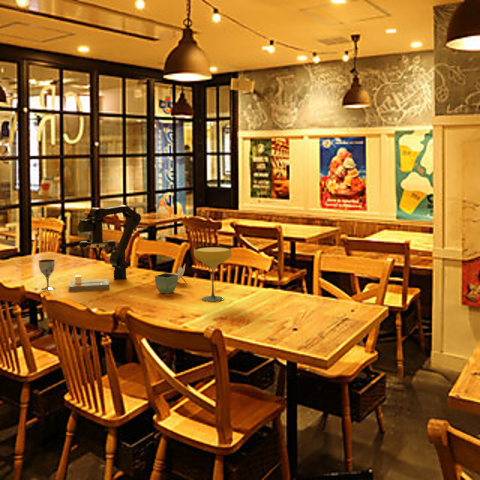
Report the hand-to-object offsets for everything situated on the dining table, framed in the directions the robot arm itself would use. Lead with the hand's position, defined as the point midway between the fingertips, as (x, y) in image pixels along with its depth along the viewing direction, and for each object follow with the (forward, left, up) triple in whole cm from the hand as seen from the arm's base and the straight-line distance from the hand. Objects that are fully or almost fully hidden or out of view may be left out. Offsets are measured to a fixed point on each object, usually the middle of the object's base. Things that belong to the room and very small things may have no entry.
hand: (98, 259), depth 305 cm
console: (+5, +10, -13) cm, 17 cm away
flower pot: (-33, +31, -13) cm, 47 cm away
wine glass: (+26, +8, -13) cm, 30 cm away
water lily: (-42, +10, -13) cm, 45 cm away
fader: (+11, +10, -12) cm, 19 cm away
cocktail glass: (-53, +50, -13) cm, 74 cm away
